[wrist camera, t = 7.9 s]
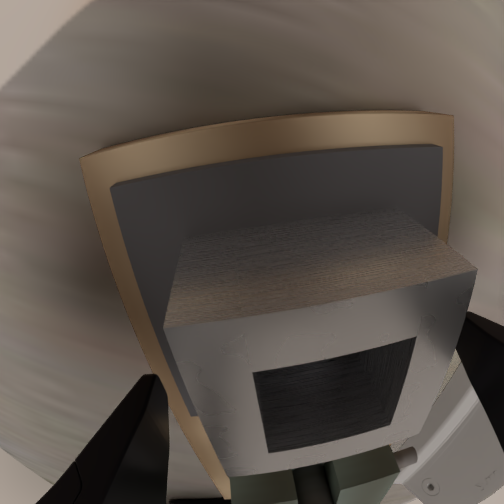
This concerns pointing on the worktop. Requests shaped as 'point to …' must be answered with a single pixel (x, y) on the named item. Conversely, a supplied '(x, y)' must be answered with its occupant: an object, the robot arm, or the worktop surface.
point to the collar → (315, 335)
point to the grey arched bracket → (455, 450)
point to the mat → (263, 206)
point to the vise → (241, 147)
